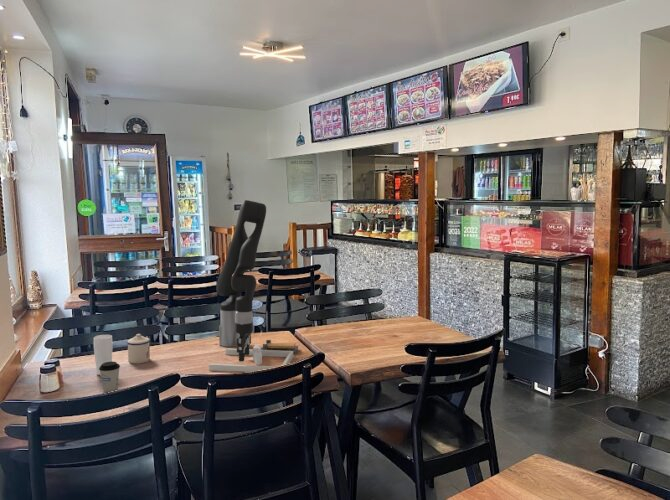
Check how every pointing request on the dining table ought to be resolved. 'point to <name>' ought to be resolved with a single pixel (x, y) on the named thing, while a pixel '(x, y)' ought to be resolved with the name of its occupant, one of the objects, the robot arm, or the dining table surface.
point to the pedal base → (265, 347)
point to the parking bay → (250, 367)
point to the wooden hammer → (281, 345)
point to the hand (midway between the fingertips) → (244, 357)
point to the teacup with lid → (138, 349)
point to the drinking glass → (102, 350)
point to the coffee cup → (109, 376)
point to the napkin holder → (257, 355)
